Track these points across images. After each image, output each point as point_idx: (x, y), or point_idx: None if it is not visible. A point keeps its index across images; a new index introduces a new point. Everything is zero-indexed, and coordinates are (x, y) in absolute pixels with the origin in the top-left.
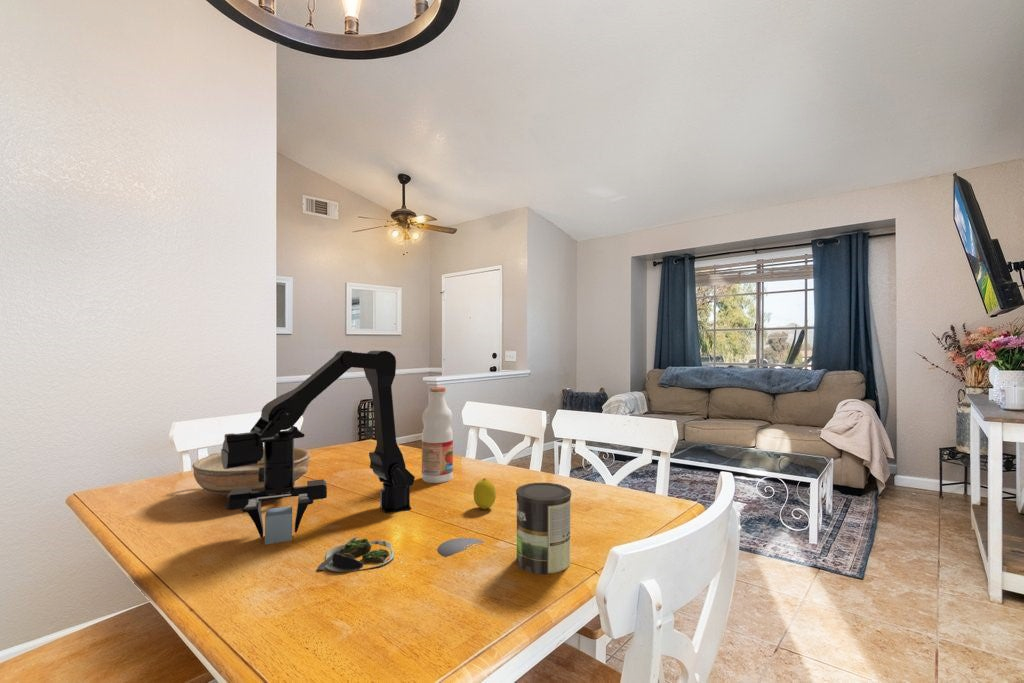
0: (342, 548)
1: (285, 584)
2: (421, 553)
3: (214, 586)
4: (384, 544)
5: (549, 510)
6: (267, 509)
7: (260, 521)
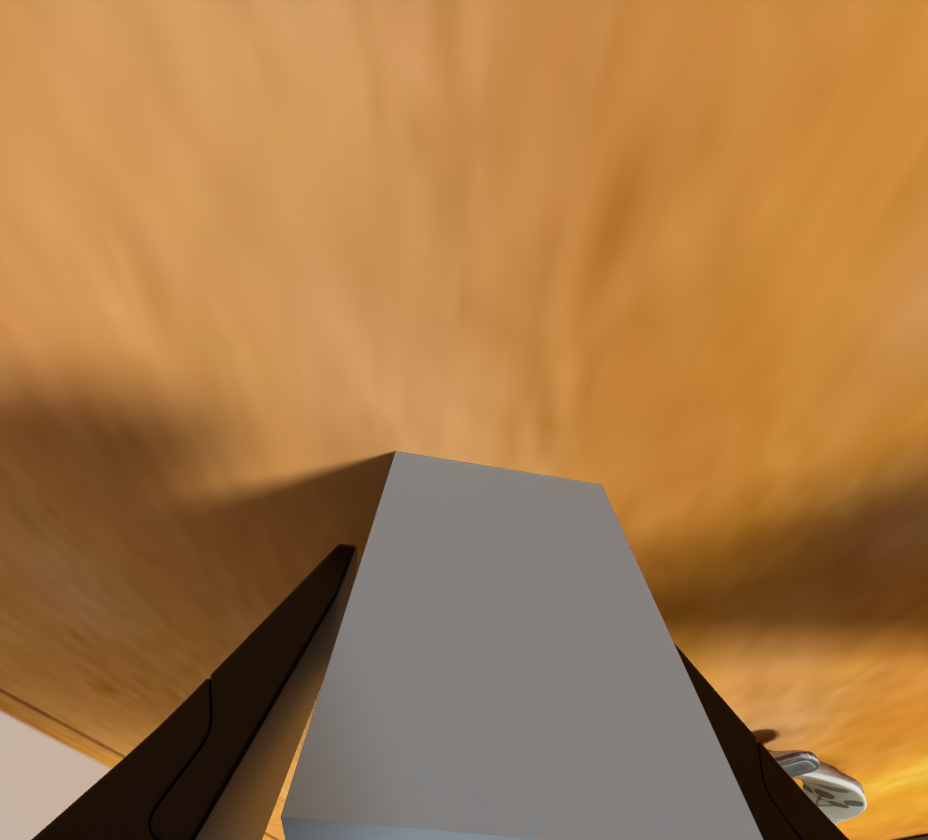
0: None
1: None
2: (862, 831)
3: None
4: (839, 804)
5: None
6: (297, 830)
7: (272, 807)
